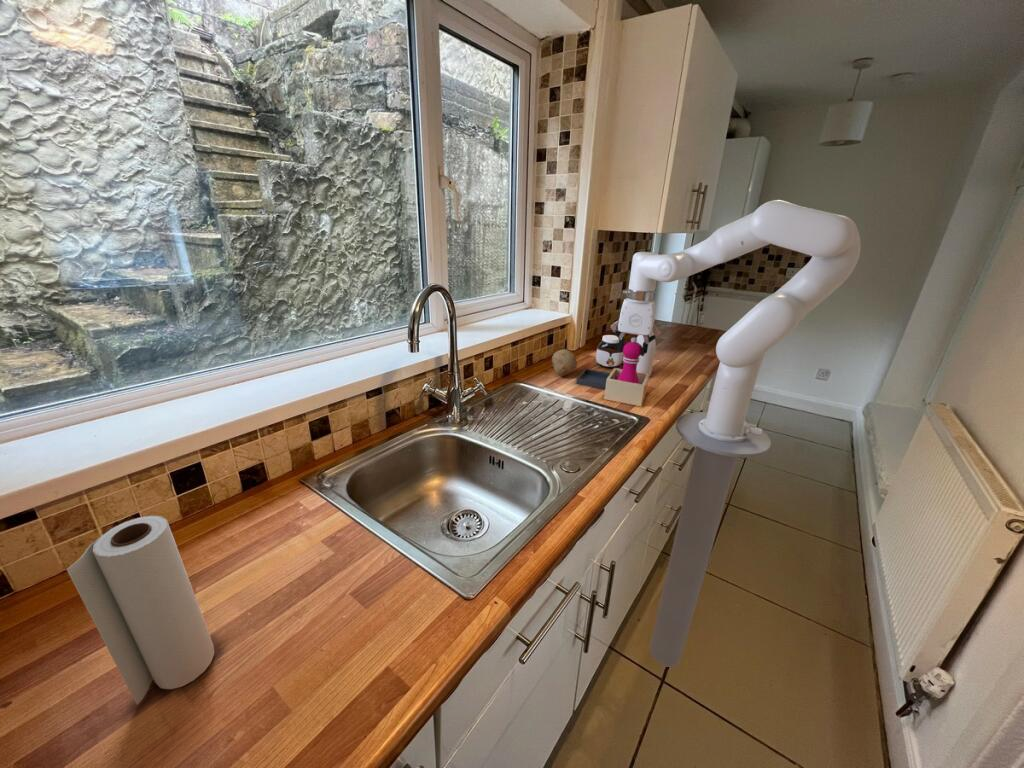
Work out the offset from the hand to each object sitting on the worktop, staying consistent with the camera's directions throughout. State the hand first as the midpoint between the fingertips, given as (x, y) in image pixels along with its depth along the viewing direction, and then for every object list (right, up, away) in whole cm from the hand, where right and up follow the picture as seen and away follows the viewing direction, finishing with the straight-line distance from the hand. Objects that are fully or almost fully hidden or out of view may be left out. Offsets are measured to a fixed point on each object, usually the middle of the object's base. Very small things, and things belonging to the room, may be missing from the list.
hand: (632, 352), depth 128 cm
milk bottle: (+10, -6, +25) cm, 28 cm away
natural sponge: (-19, -7, +21) cm, 29 cm away
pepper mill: (0, -14, +6) cm, 15 cm away
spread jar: (+2, -2, +34) cm, 34 cm away
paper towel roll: (-80, -46, -77) cm, 119 cm away
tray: (-8, -9, +17) cm, 21 cm away
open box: (0, -14, +6) cm, 15 cm away
